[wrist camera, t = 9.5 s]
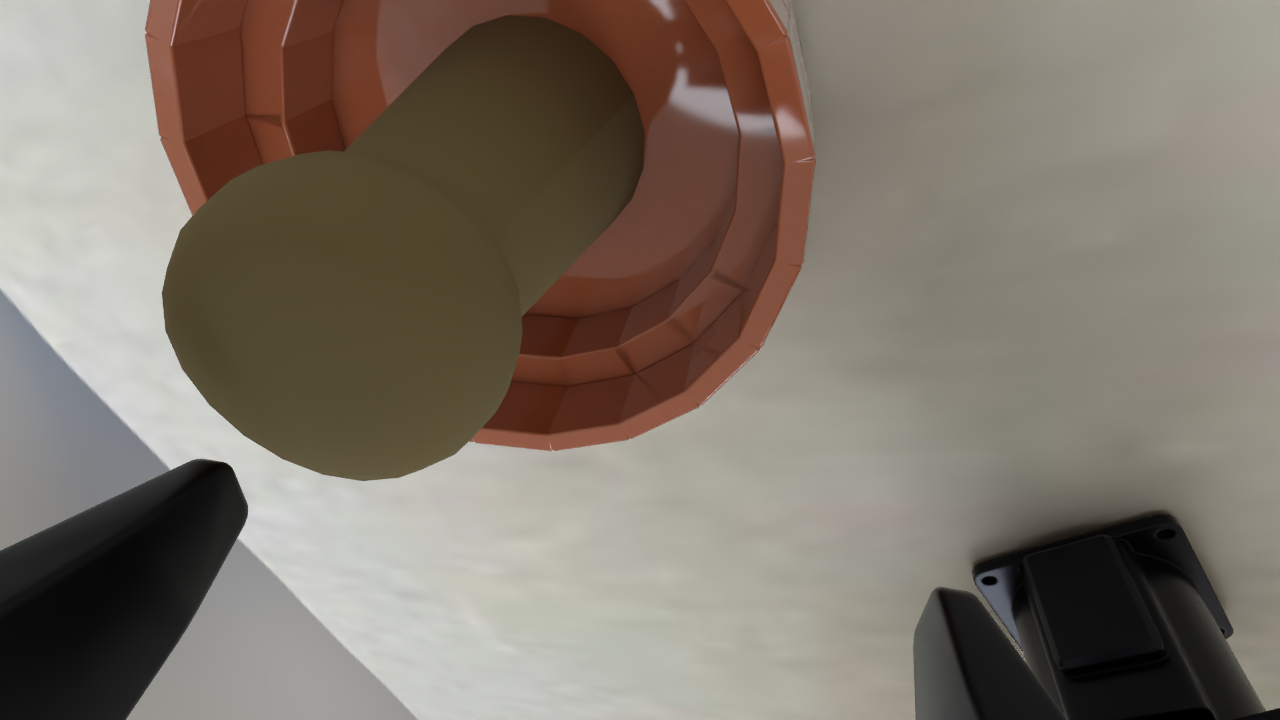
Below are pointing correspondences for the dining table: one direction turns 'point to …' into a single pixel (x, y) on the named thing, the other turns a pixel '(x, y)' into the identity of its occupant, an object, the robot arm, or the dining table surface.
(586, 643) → the dining table surface
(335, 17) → the bowl
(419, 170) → the cork
